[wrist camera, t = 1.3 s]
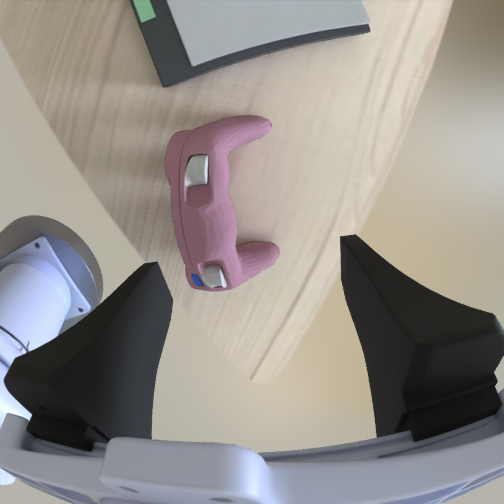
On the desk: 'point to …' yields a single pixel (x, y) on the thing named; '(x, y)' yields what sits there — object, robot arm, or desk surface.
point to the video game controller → (213, 204)
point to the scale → (237, 30)
